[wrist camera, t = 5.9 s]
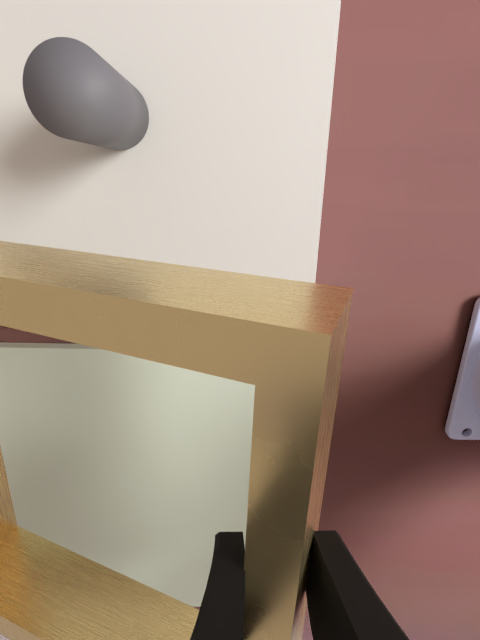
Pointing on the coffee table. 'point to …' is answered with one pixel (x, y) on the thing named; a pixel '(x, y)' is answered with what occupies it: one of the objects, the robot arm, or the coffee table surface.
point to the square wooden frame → (201, 356)
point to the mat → (126, 459)
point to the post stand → (168, 129)
